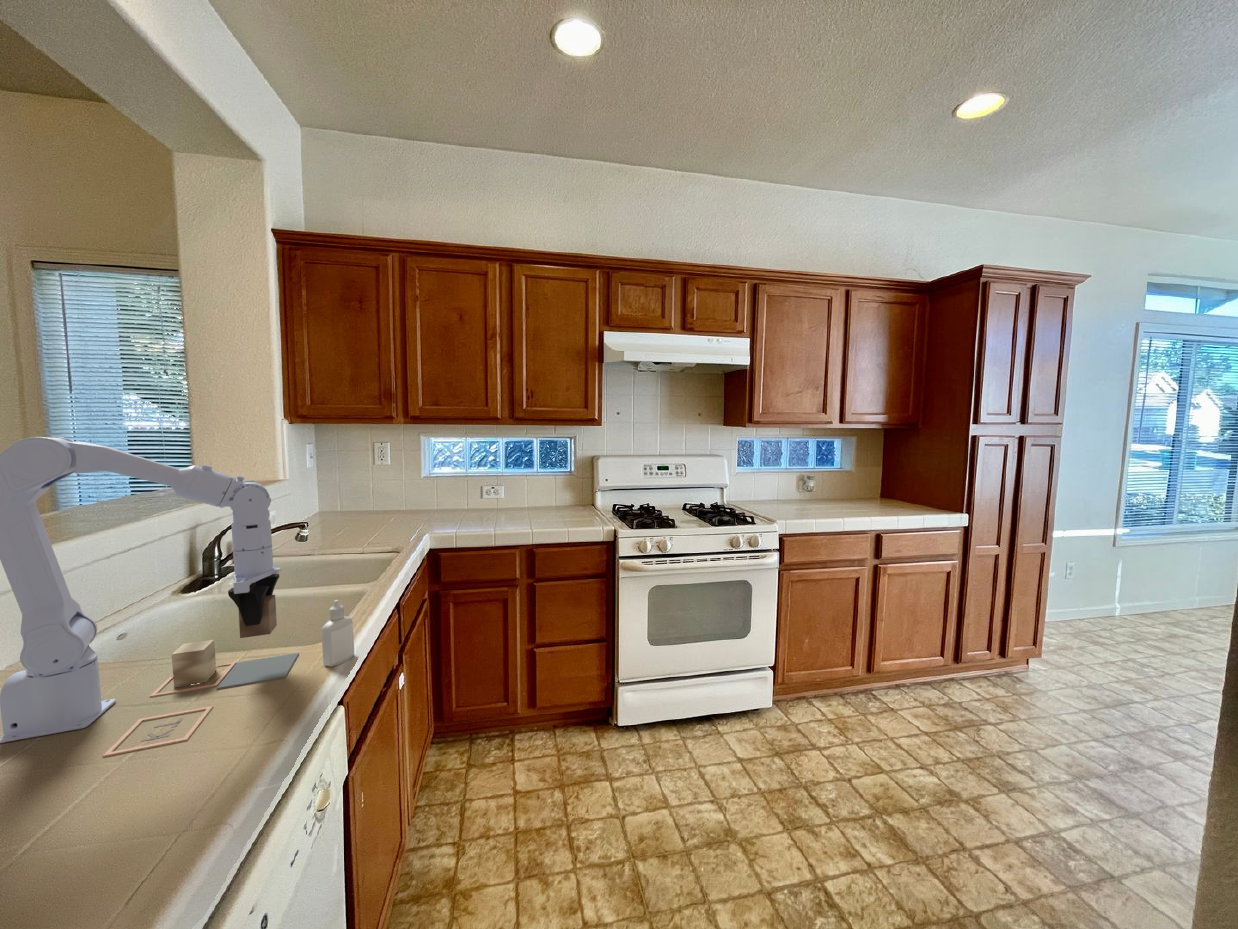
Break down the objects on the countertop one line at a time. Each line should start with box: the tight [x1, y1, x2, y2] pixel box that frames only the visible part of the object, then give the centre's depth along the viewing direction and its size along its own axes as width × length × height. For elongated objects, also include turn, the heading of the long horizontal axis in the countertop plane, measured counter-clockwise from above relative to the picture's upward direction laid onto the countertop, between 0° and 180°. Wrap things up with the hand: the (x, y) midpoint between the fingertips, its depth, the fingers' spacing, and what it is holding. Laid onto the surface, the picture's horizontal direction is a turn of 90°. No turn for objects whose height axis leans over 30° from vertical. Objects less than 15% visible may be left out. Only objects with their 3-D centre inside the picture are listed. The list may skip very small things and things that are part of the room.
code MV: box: [149, 661, 237, 698], centre depth 87 cm, size 9×9×1 cm
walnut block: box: [238, 594, 278, 639], centre depth 89 cm, size 4×4×6 cm
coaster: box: [216, 652, 300, 691], centre depth 90 cm, size 10×10×1 cm
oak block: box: [171, 639, 217, 688], centre depth 87 cm, size 4×4×6 cm
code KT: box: [102, 705, 214, 758], centre depth 72 cm, size 9×9×1 cm
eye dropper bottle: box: [321, 599, 355, 668], centre depth 93 cm, size 4×6×12 cm
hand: (257, 619), depth 89 cm, fingers closed on walnut block, 4 cm apart
